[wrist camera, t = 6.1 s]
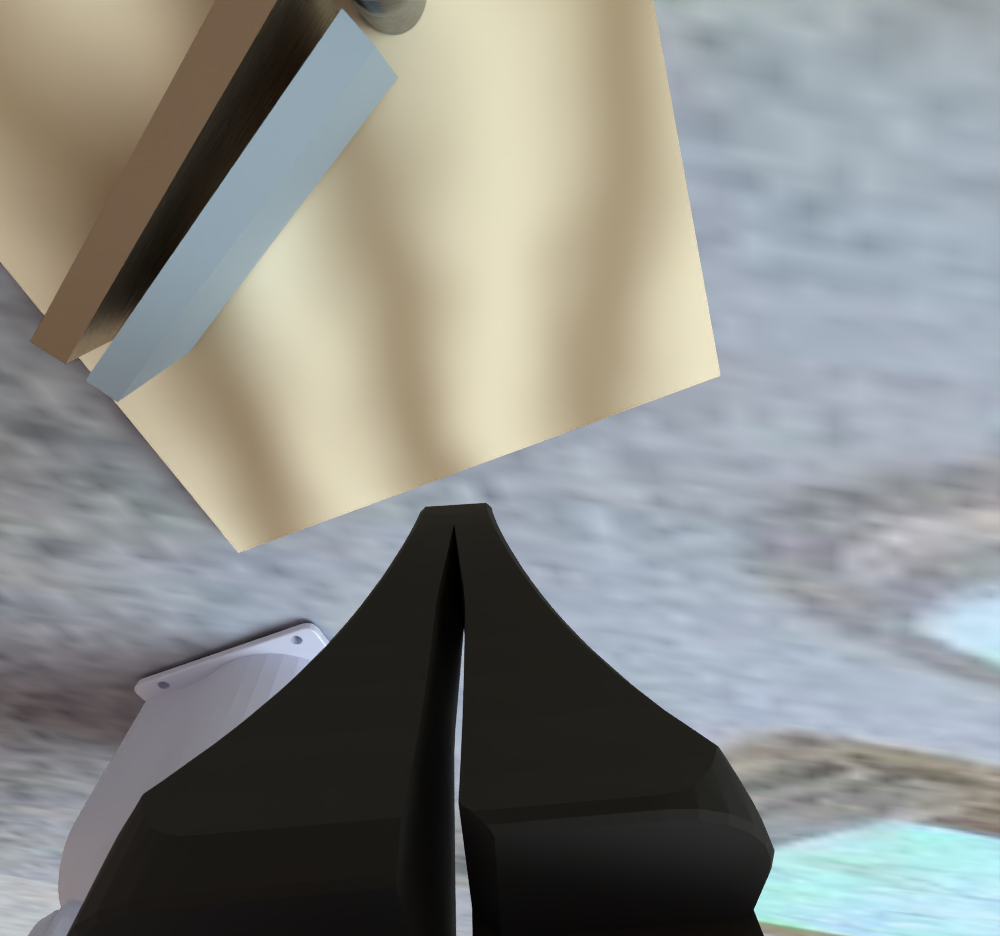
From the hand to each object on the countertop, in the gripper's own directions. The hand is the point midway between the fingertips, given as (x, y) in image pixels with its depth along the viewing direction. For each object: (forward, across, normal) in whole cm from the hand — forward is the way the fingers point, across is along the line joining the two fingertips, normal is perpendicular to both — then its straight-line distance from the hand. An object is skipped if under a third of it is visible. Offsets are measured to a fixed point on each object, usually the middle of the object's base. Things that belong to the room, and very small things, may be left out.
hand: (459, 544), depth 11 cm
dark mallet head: (+8, +5, -7) cm, 12 cm away
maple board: (+9, +3, -5) cm, 11 cm away
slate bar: (+8, +5, -6) cm, 11 cm away
